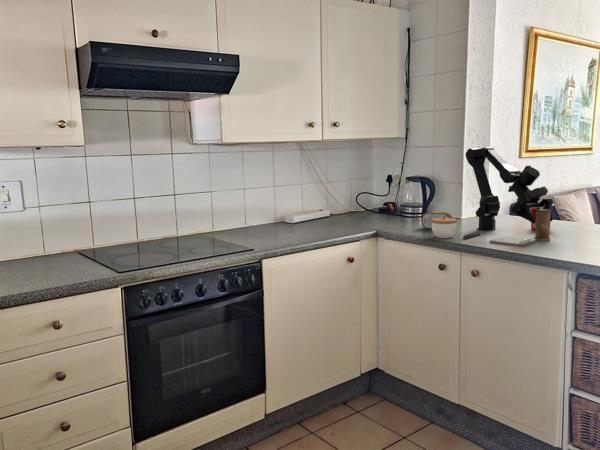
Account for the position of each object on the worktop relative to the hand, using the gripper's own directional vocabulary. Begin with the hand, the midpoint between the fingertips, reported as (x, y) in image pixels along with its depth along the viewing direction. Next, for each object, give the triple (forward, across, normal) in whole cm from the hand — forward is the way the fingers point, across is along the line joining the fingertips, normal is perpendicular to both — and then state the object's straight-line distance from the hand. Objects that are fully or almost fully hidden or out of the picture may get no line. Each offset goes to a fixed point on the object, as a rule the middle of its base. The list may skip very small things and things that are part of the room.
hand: (543, 221), depth 218 cm
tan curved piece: (-27, -18, +38) cm, 50 cm away
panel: (+4, -13, +7) cm, 15 cm away
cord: (-9, -19, +20) cm, 29 cm away
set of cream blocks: (+7, -13, +3) cm, 15 cm away
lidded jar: (-14, -28, +25) cm, 40 cm away
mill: (+5, 0, +6) cm, 8 cm away
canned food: (-8, +19, +19) cm, 28 cm away
